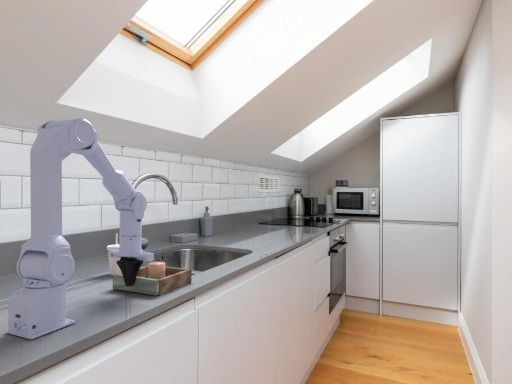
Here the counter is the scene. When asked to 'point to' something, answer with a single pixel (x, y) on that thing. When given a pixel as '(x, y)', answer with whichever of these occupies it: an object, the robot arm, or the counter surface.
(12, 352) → the counter surface
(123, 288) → the tray
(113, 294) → the counter surface
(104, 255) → the counter surface
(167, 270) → the dock
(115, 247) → the smoothie
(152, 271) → the peach rounded cylinder
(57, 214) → the robot arm
